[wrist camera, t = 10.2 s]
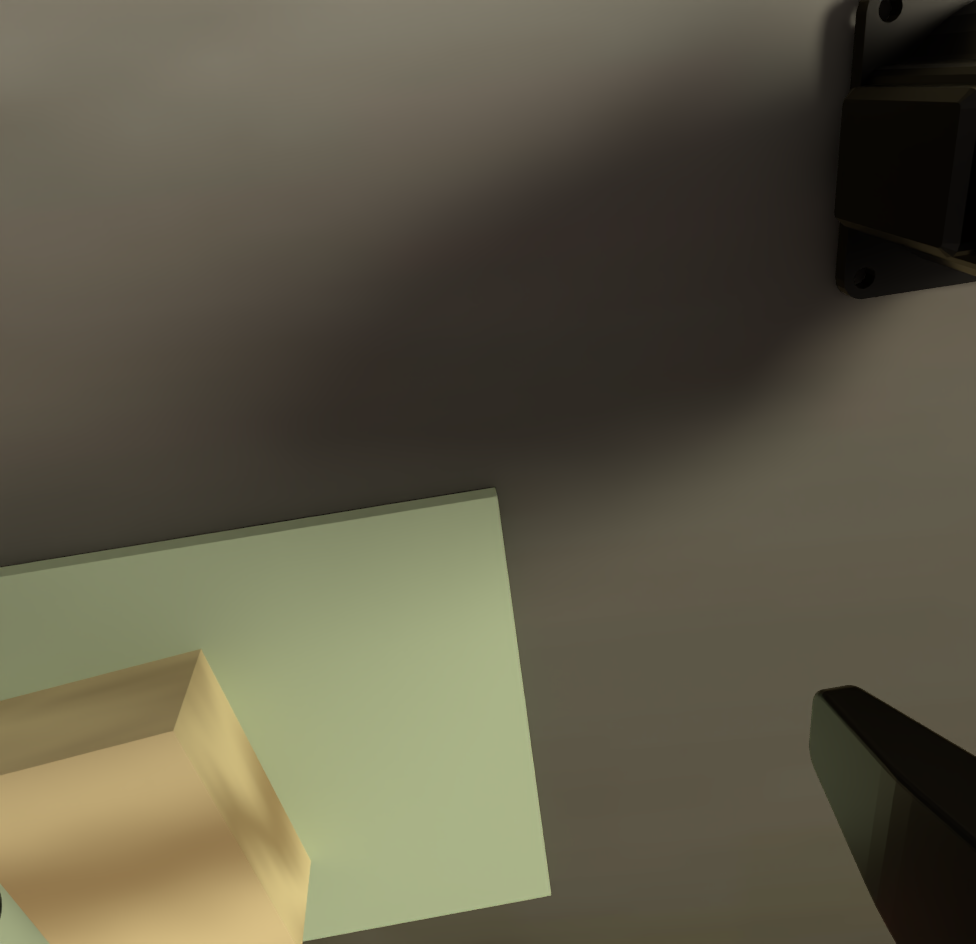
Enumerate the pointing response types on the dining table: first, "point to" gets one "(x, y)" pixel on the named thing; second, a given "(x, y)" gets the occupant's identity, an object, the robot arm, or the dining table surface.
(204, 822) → the brass block
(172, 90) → the dining table surface
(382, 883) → the rubber mat
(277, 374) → the dining table surface
